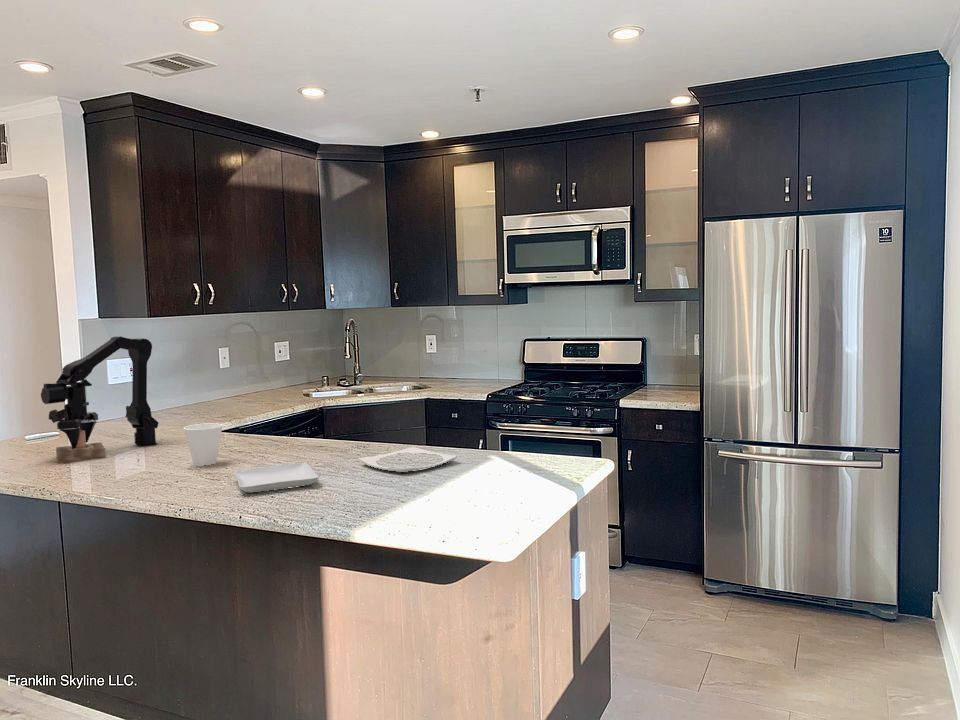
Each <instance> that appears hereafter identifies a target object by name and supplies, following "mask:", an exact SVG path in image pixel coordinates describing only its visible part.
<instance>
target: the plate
mask: <svg viewBox="0 0 960 720" xmlns="http://www.w3.org/2000/svg"><path fill="white" fill-rule="evenodd" d="M405 452H410V453H427V454H437V455H440V456H442V457H443V459H444V460H443V461H442V462H440V463H436V464H433V465H428V466H423V467H418V468H388V467H382V466H379V465H377V463H376V461H378V460H379V459H380V458H383V457H386V456H390V455H393V454H397V453H405ZM457 458H458V455H454V454H445V453H440V452H439V453H438V452H434V451H429V450H425V449H422V448H419V447H414V446H410V447H408V448H407V447H406V448H404V449H401V450H397V451H394V452H388V453H384V454H379V455H374V456H365V457H358V461H360V462H361V463H362V464H364V465H367V466H368V467H370V466H371V468H373V467H374V469H377V468H378V469H377V470H380V469H382V470H381V471H383V470H388V471H387V472H389V471H396V472H395V473H401V472H406V473H408V472H407V471H413V470H419V469H423V468H428V467H432V466H436V465H440V464H443V463H446V462H448V463H450V462H449V461H451V462H453V461H455V460H456V459H457ZM452 460H453V461H452ZM446 464H447V463H446Z"/></svg>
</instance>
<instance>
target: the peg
mask: <svg viewBox="0 0 960 720" xmlns="http://www.w3.org/2000/svg"><path fill="white" fill-rule="evenodd" d="M86 444H87V443H86V436H85V431H84V430H82V431H81V432H80V436H79V439H78V443H77V446H76V448H74V449H79V448H86Z"/></svg>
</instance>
